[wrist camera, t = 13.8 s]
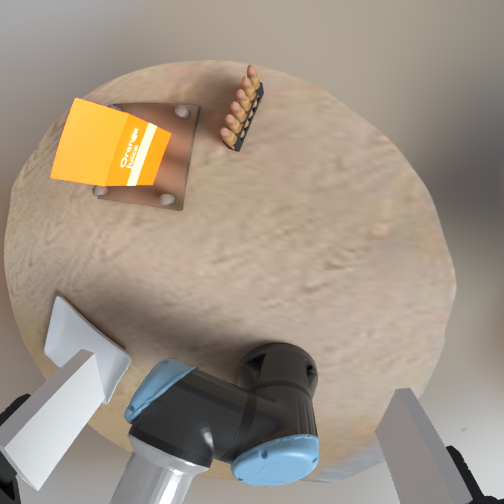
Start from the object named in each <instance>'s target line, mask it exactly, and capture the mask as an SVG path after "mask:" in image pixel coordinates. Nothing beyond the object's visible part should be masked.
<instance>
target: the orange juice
mask: <svg viewBox="0 0 504 504" xmlns="http://www.w3.org/2000/svg"><path fill="white" fill-rule="evenodd" d="M170 136H171V133H169V132H167V131H165V130H163V129H161V128H159V127H157V126H155V125H153V124H151V123H148V122H146V121H144V120H141V119H139V118H137V117H135V116H133V115H130V114H128V113H125V112H120V111H117V110H114V109H111V108H108V107H105V106H101V105H98V104H95V103H91V102H88V101H85V100H81V99H77V98H75V101H74V103H73V105H72V108H71V111H70V113H69V116H68V119H67V122H66V125H65V127H64V130H63V134H62V137H61V140H60V143H59V146H58V150H57V153H56V157H55V161H54V164H53V168H52V172H51V177H50V178H54V179H61V180H68V181H74V182H80V183H87V184H93V185H99V186H123V185H126V186H136V185H153V182H154V179H155V176H156V173H157V170H158V168H159V165H160V162H161V159H162V157H163V154H164V151H165V149H166V146H167V143H168V141H169V138H170Z"/></svg>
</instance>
